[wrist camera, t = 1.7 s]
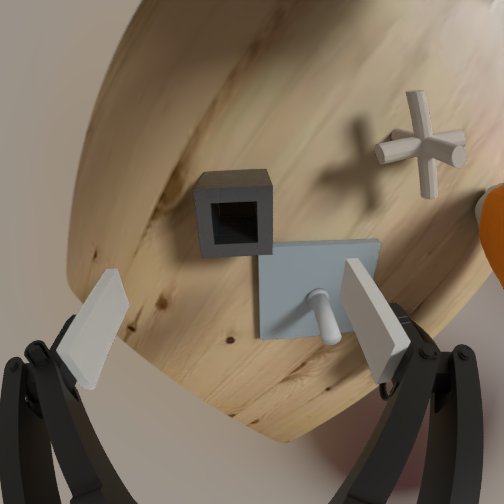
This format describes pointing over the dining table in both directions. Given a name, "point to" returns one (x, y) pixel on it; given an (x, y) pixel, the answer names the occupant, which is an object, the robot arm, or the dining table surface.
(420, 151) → the light grey toy jack
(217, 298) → the dining table surface
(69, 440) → the robot arm
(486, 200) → the orange egg-shaped ornament
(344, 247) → the post block
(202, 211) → the collar
